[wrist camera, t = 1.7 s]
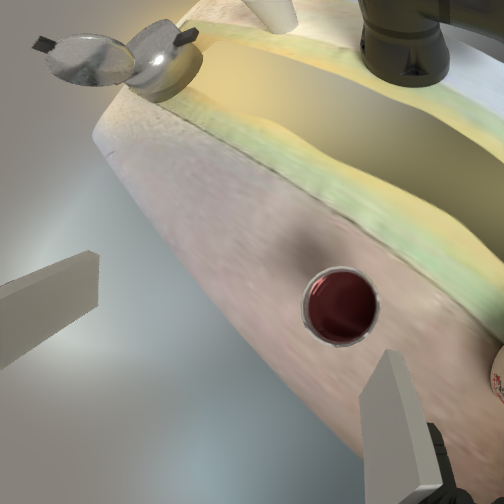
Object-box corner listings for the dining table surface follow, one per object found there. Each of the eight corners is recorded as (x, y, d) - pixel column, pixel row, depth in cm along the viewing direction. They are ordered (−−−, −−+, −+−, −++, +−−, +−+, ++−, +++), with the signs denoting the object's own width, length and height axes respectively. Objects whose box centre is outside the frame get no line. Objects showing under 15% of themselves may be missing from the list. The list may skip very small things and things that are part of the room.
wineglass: (393, 314, 31) (396, 318, 21) (345, 345, 33) (324, 363, 22) (363, 267, 34) (351, 248, 23) (318, 298, 36) (285, 294, 25)
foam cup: (264, 19, 50) (237, -21, 38) (304, 10, 46) (280, -35, 34) (262, 43, 48) (231, -1, 37) (306, 33, 44) (280, -16, 33)
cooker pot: (209, 88, 52) (172, 52, 41) (126, 114, 63) (91, 92, 53) (226, 36, 54) (198, 2, 43) (147, 65, 65) (118, 42, 55)
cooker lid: (157, 63, 43) (156, 68, 43) (102, 90, 51) (100, 94, 52) (61, 12, 24) (58, 18, 24) (20, 60, 32) (18, 65, 32)
